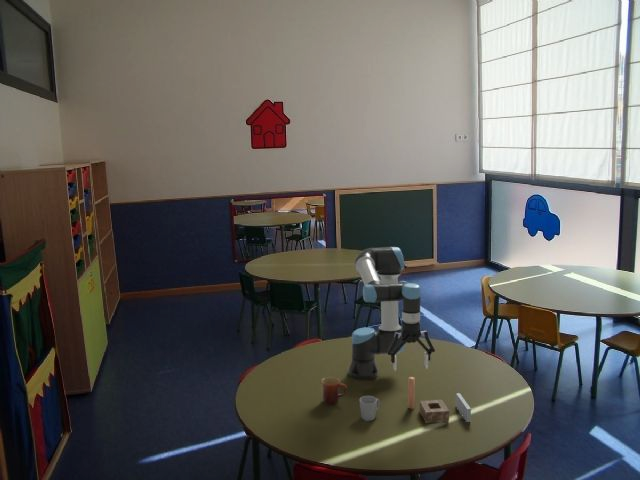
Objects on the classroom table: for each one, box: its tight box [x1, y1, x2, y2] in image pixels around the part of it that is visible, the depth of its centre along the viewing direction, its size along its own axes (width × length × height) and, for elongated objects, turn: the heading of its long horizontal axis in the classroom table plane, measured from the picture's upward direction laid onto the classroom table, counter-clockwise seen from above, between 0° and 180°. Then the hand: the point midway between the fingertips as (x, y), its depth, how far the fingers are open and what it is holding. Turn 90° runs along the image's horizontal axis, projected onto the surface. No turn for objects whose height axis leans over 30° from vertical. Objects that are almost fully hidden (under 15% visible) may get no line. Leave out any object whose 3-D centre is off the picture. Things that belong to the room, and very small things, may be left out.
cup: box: [359, 395, 381, 422], centre depth 237 cm, size 8×10×8 cm
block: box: [419, 399, 450, 424], centre depth 236 cm, size 10×10×5 cm
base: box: [455, 392, 472, 423], centre depth 237 cm, size 2×14×6 cm, turn 5°
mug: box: [320, 376, 348, 406], centre depth 250 cm, size 12×9×10 cm
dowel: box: [407, 376, 416, 410], centre depth 243 cm, size 3×3×14 cm
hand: (410, 368), depth 233 cm, fingers open, 13 cm apart
